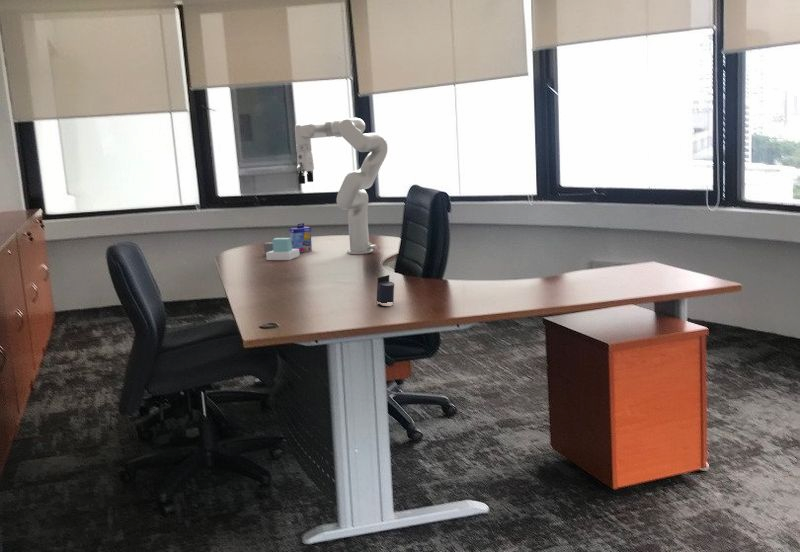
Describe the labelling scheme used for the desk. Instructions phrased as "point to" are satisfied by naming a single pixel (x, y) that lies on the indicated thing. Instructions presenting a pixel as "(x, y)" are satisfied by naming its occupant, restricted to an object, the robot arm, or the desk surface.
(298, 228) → the ink cartridge box
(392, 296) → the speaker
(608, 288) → the desk surface
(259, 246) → the desk surface
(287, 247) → the teal brick
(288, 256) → the white block
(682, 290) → the desk surface
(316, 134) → the robot arm
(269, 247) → the grey brick
